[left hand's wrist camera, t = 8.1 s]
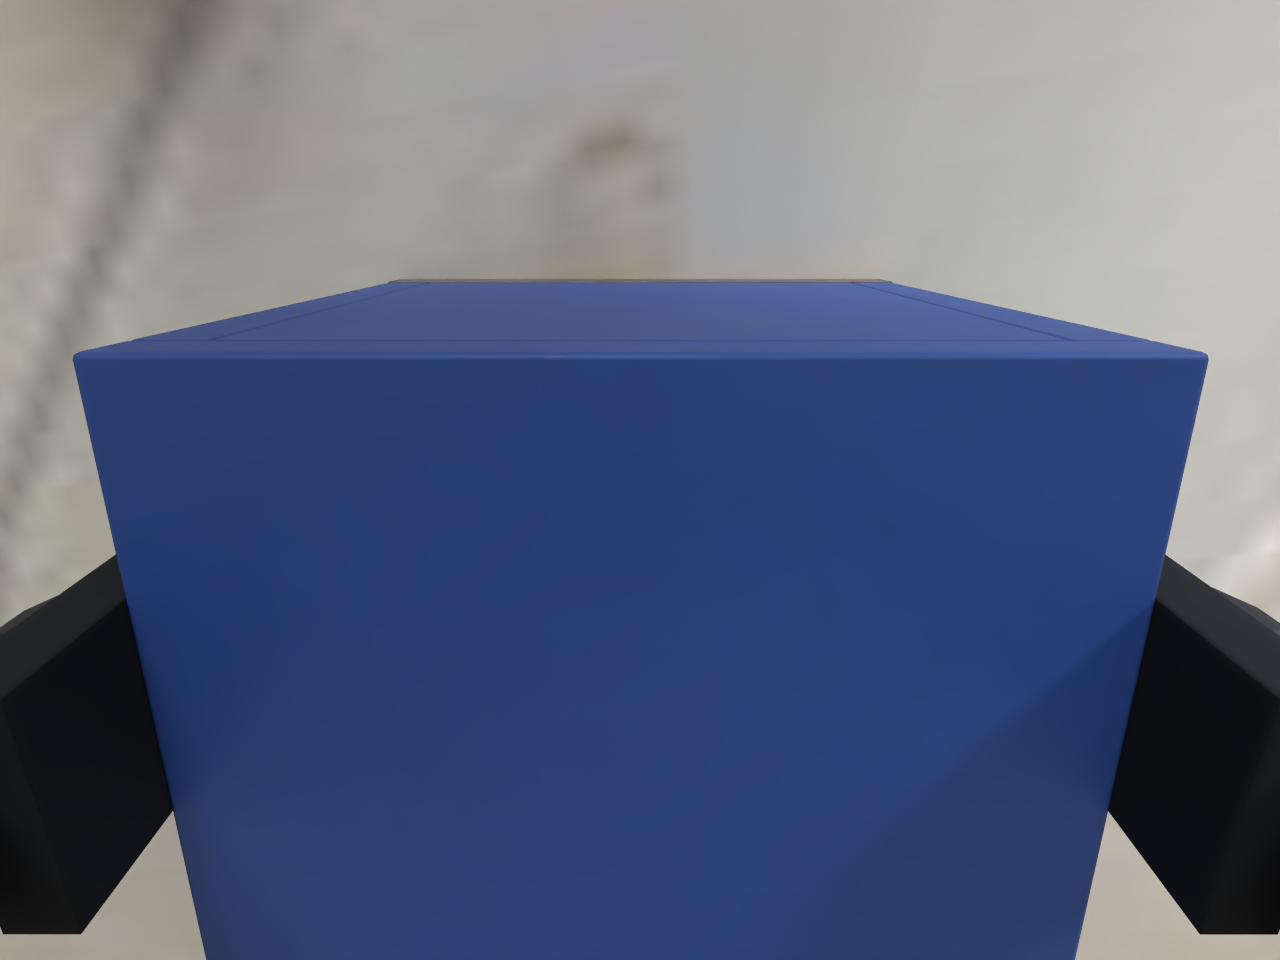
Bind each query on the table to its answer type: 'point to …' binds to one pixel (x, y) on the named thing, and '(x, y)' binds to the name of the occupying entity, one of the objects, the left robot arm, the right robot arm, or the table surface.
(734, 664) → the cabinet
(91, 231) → the table surface
